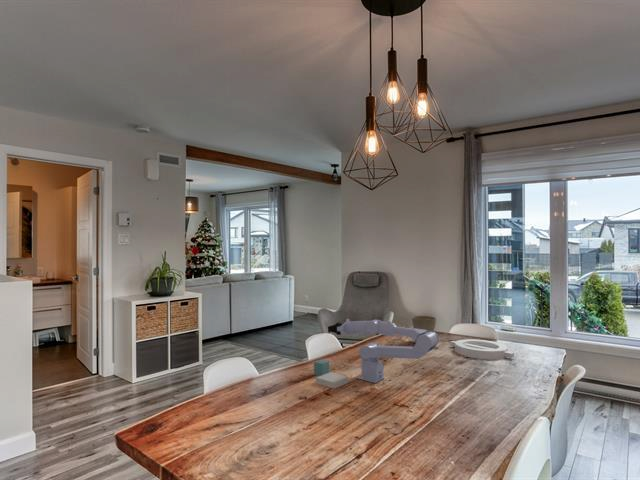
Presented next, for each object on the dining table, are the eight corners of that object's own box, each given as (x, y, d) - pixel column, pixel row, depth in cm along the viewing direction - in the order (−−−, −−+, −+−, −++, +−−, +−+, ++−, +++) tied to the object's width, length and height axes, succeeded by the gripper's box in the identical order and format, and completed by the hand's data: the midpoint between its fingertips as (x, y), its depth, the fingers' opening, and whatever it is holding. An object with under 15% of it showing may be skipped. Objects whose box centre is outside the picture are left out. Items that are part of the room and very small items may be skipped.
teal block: (329, 374, 184) (329, 361, 185) (322, 377, 181) (322, 363, 181) (320, 372, 188) (321, 359, 188) (314, 374, 184) (314, 361, 184)
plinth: (348, 382, 173) (348, 376, 173) (334, 388, 165) (334, 382, 166) (330, 377, 180) (330, 372, 180) (316, 383, 172) (316, 377, 172)
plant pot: (421, 339, 260) (421, 314, 260) (440, 343, 249) (440, 318, 249) (406, 342, 251) (407, 317, 251) (426, 346, 239) (426, 320, 240)
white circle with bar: (449, 346, 242) (449, 338, 242) (495, 347, 241) (495, 339, 241) (463, 359, 214) (463, 350, 214) (516, 360, 213) (516, 351, 213)
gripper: (363, 317, 190) (340, 318, 198) (347, 319, 178) (323, 320, 186) (365, 332, 189) (341, 333, 197) (349, 335, 177) (324, 336, 185)
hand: (332, 328), depth 191 cm, fingers open, 7 cm apart
